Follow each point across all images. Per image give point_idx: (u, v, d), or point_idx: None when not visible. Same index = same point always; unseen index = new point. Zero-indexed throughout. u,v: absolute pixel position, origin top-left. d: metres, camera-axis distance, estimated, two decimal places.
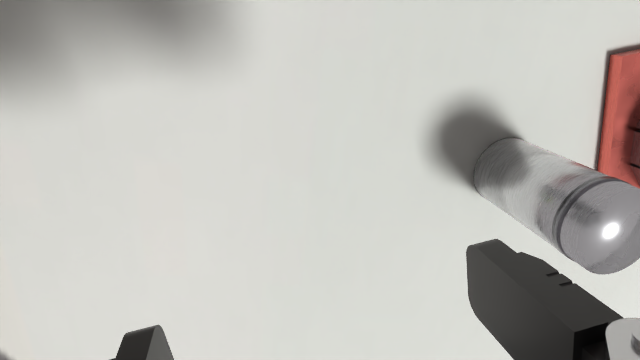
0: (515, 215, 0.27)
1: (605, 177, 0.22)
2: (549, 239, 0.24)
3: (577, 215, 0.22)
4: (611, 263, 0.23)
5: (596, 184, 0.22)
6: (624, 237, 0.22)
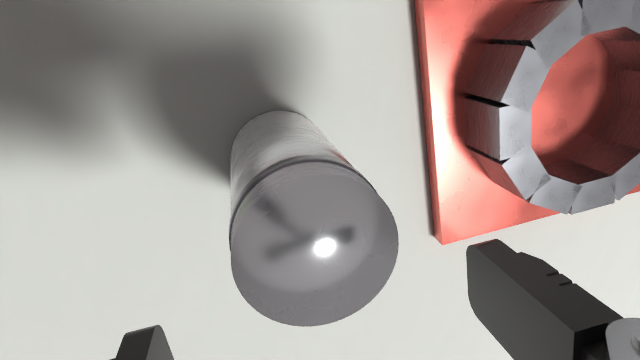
0: None
1: (305, 156, 0.13)
2: None
3: (235, 224, 0.12)
4: (321, 307, 0.13)
5: (278, 169, 0.12)
6: (331, 262, 0.12)
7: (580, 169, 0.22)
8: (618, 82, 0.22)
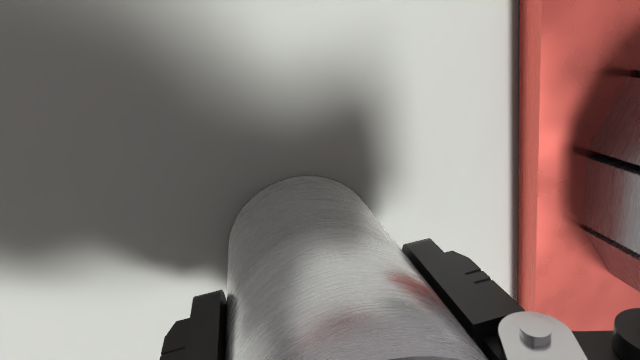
0: None
1: None
2: None
3: None
4: None
5: None
6: None
7: None
8: None
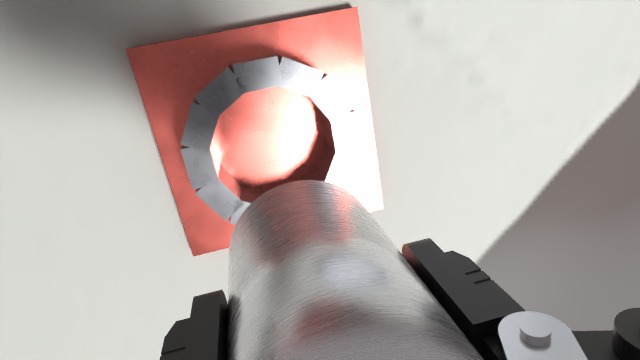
0: None
1: None
2: None
3: None
4: None
5: None
6: None
7: None
8: (323, 124, 0.27)
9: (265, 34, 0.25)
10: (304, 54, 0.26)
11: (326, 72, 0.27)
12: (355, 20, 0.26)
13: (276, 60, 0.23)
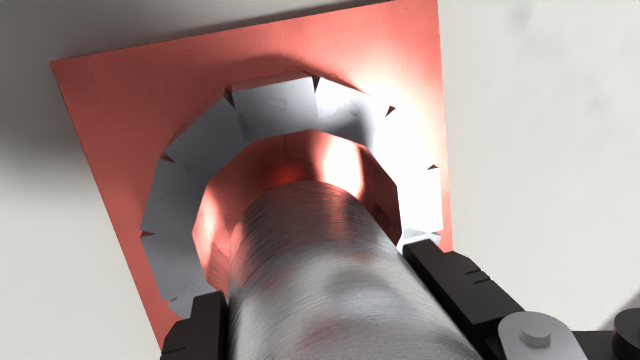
0: None
1: None
2: None
3: None
4: None
5: None
6: None
7: None
8: (375, 179, 0.17)
9: (287, 37, 0.15)
10: (349, 70, 0.16)
11: (382, 98, 0.17)
12: (432, 15, 0.16)
13: (310, 84, 0.13)
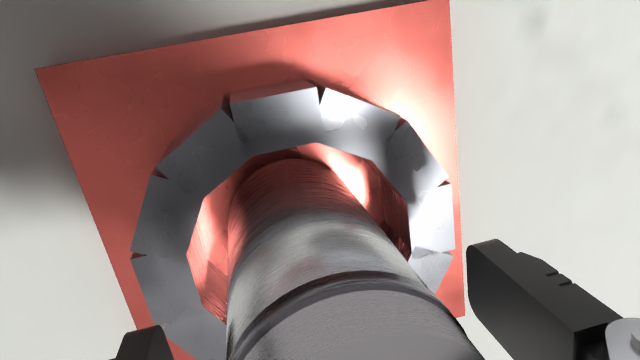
0: None
1: (351, 275, 0.08)
2: None
3: None
4: None
5: (309, 303, 0.07)
6: None
7: None
8: (381, 193, 0.16)
9: (289, 43, 0.14)
10: (355, 78, 0.15)
11: (390, 108, 0.16)
12: (444, 20, 0.15)
13: (314, 95, 0.12)
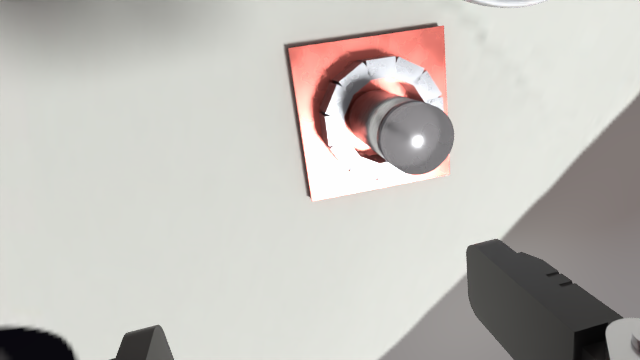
0: (367, 143, 0.34)
1: (413, 100, 0.30)
2: (380, 152, 0.31)
3: (387, 125, 0.29)
4: (418, 165, 0.29)
5: (404, 104, 0.29)
6: (425, 144, 0.29)
7: None
8: None
9: (380, 42, 0.36)
10: (405, 57, 0.37)
11: None
12: (441, 35, 0.37)
13: (394, 59, 0.34)
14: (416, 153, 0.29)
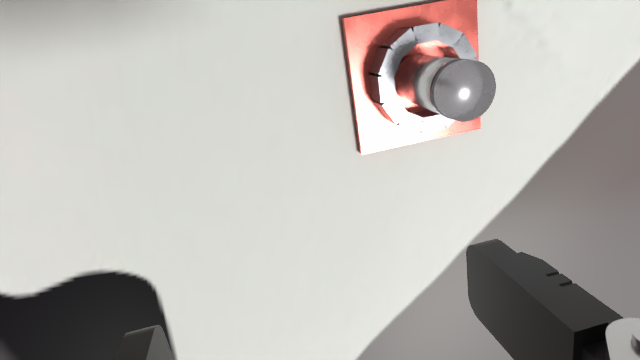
0: (416, 99, 0.39)
1: None
2: (431, 105, 0.36)
3: (440, 80, 0.34)
4: (466, 113, 0.35)
5: (453, 62, 0.35)
6: (472, 95, 0.35)
7: (430, 112, 0.43)
8: None
9: (422, 10, 0.41)
10: (443, 24, 0.42)
11: None
12: (474, 3, 0.42)
13: (437, 24, 0.39)
14: (465, 103, 0.35)
